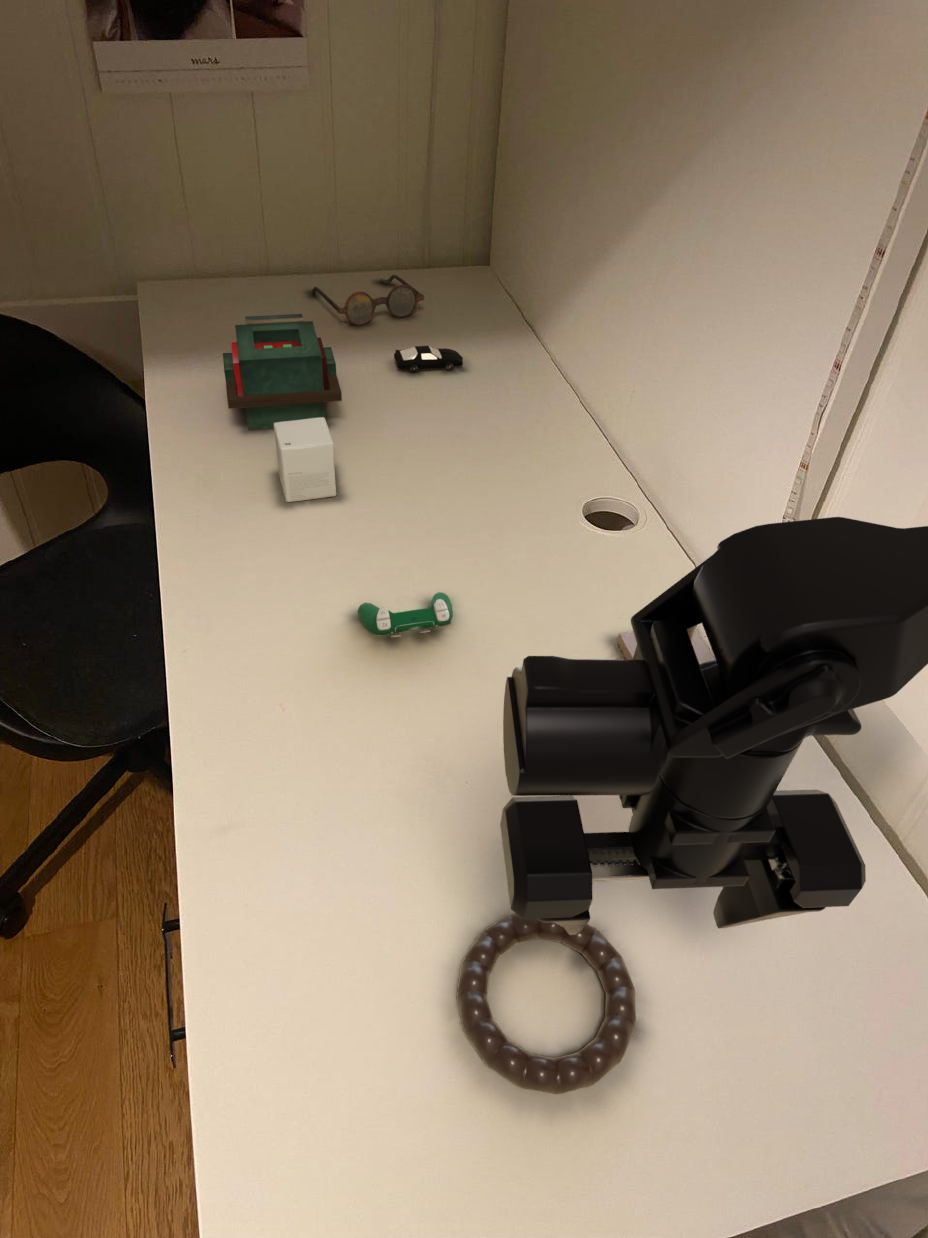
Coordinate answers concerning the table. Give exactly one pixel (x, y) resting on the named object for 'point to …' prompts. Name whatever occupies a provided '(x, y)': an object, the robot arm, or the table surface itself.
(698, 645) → the peg stand
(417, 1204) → the table surface
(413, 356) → the toy car
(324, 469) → the product box
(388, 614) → the gaming controller
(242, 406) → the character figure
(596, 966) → the ring
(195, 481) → the table surface
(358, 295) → the eyeglasses
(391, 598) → the table surface
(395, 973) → the table surface
